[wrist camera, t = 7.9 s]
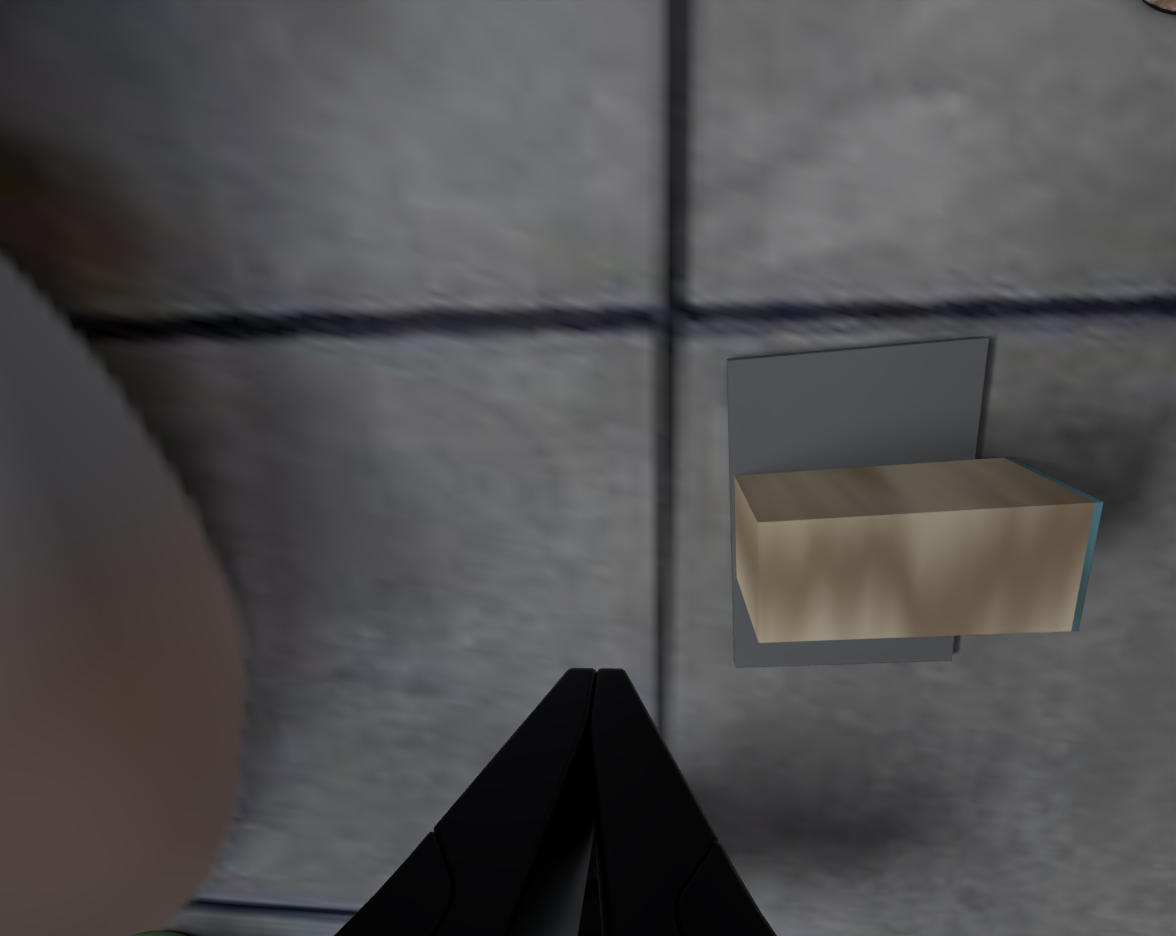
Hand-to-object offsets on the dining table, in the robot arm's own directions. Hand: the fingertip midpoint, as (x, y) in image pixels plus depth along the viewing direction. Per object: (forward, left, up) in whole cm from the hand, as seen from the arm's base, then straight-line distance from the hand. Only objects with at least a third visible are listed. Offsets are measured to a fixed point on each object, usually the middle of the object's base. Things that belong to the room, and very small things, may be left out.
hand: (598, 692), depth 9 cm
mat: (-3, -8, -12) cm, 15 cm away
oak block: (-3, -13, -10) cm, 17 cm away
